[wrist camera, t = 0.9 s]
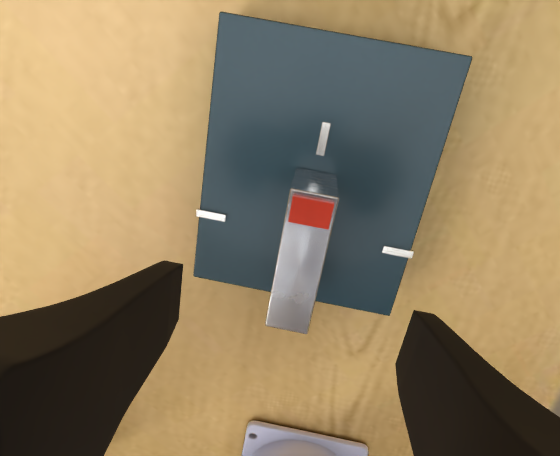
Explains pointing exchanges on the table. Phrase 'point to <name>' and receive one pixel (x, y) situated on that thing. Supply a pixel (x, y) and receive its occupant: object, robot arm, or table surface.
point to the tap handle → (302, 249)
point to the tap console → (321, 151)
